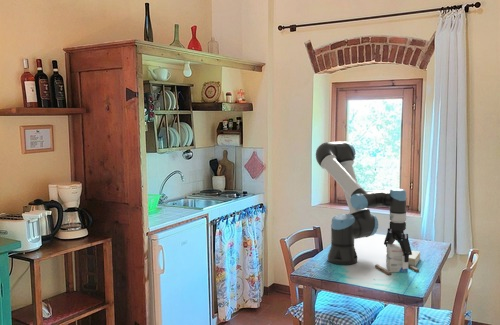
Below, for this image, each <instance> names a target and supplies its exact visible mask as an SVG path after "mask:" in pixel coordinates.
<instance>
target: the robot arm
mask: <svg viewBox="0 0 500 325" xmlns="http://www.w3.org/2000/svg"><path fill="white" fill-rule="evenodd" d="M315 159H316V162H317V164H318V165H319V167H320V168H321V169H323V170H325V171H327V172H328V174H329V175H330V176H331V177H332V178H333V179H334V181H335V182H336V183H337V185H339V186H340V188H342V190H343V194H344V197H345V200H346V203H347V207H348V210H349V213H344V214H342V213H341V214H336V215H334V217H333V218H331V224H330V230H331V231H330V234H331V235H330V239H331V241H330V243H331V244H330V245H331V246H330V248H329V251H328V254H327V262H329V263H331V264H333V265H339V266H340V265H342V266H350V265H354V264H357V263H358V255H357V251H356V248H355V240H357V239H361V238H369V237H372V236H374V235H375V234H376V233H377V232H378V229H379V221H378V220H379V219H378V218H377V216H376V215H375V214H374V213H371V211H370V209H371V208H378V207H379V208H380V207H385V208H389V227H388V228H387V232H386V235H385V238H384V241H383V244H384V245H385V248H387V244H395V241H397V244H400V246H401V249H402V252H403V255H402V269H407V268H408V262H409V255H412V252H411V250H412V248H411V244H410V241H409V234H408V233H405V230H406V229H407V222H406V221H407V199H408V198H407V191H406V189H402V188H391V189H390V190H389V191H386V190H382V189H379V190H378V189H374V190H372V191H370V192H369V191H368V192H366V190H365V189H364V187H362V186H361V185H360V184H359V183H358V180H357V176H356V174H355V170H354V167H353V165H354V163H355V161H354V160H355V159H356V149H355V147H354V145H353V144H351V143H350V142H348V141H342V140H341V141H331V142H322V143H321V144H319V146H318V147H317V148H316V150H315ZM405 252H406V253H405ZM408 269H409V268H408Z"/></svg>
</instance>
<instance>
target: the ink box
mask: <svg viewBox="0 0 500 325" xmlns="http://www.w3.org/2000/svg"><path fill="white" fill-rule="evenodd" d="M405 253H406V252H405ZM386 255H387V262H386V268H387V270H388V271H390V272H391V273H408V272H409V271H408V269H409V268H407V269H402V255H403V252H402V249H401V246H400V244H399V243H396V244H395V243H393V244H387V247H386Z"/></svg>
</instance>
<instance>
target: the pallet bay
mask: <svg viewBox="0 0 500 325" xmlns="http://www.w3.org/2000/svg"><path fill="white" fill-rule="evenodd" d="M374 267H375V268H376V269H377V270H379V271H380V272H382V273H384V274H386V275H387V276H391V275H392V272H390V271H389V270H388V269H386V268H384V267H383V266H381V265H380V264H374ZM408 269H409V270H412V271H413V270H414V272H416V273H420V269H419V268H417V267H416V266H415V267H414V266H412V265H410V264H408Z"/></svg>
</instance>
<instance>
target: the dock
mask: <svg viewBox="0 0 500 325" xmlns="http://www.w3.org/2000/svg"><path fill="white" fill-rule="evenodd" d="M411 252H412V255H409V262H408V264H410V265H412V266H414V267H416V266H417V264H418V263H419V261H420V260H421V251H420V250H419V251H418V250H412V249H411ZM385 255H386V256H385V261H386V262H387V254H385Z"/></svg>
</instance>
